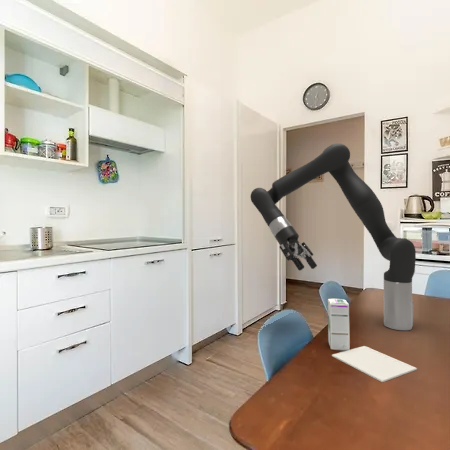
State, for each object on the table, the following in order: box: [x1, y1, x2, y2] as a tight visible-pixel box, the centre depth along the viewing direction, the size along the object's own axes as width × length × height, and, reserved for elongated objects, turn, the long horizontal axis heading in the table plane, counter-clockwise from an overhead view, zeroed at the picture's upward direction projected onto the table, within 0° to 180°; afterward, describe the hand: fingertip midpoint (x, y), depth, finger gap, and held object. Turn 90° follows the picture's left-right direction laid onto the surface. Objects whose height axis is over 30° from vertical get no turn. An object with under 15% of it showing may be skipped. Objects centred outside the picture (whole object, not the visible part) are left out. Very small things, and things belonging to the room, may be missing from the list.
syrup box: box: [327, 298, 351, 352], centre depth 93 cm, size 6×6×14 cm
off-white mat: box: [331, 345, 418, 383], centre depth 83 cm, size 14×16×1 cm
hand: (308, 268), depth 101 cm, fingers open, 8 cm apart
